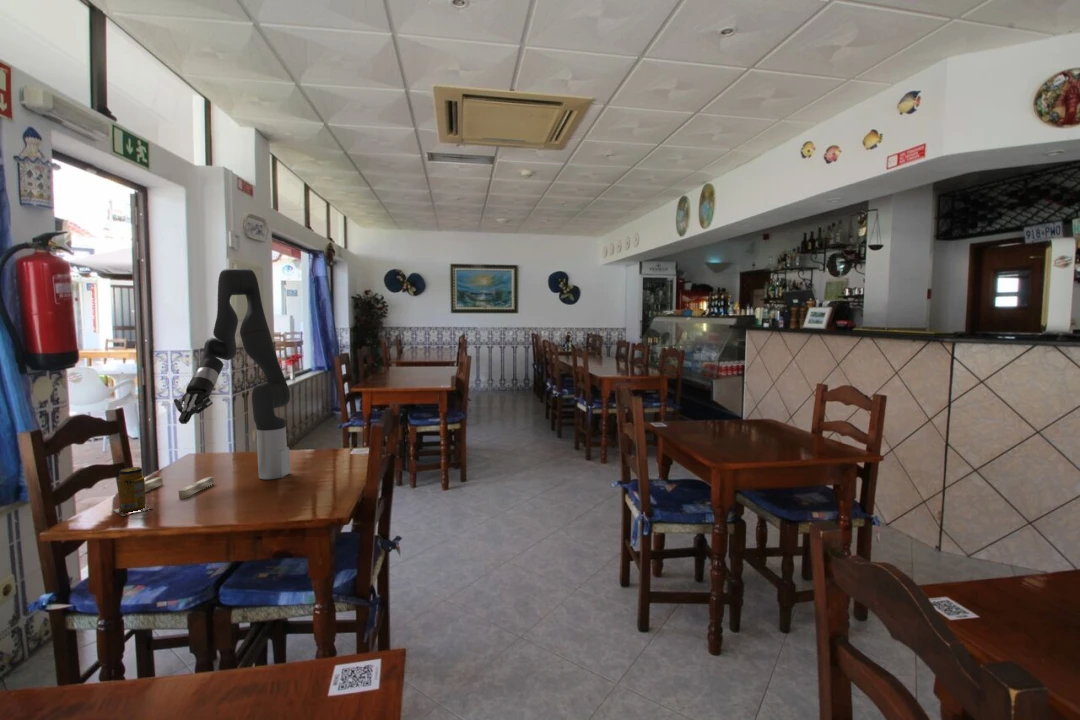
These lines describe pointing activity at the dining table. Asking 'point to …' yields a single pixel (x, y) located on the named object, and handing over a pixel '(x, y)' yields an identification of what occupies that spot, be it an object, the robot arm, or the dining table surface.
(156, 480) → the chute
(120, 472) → the condiment
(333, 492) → the dining table surface
